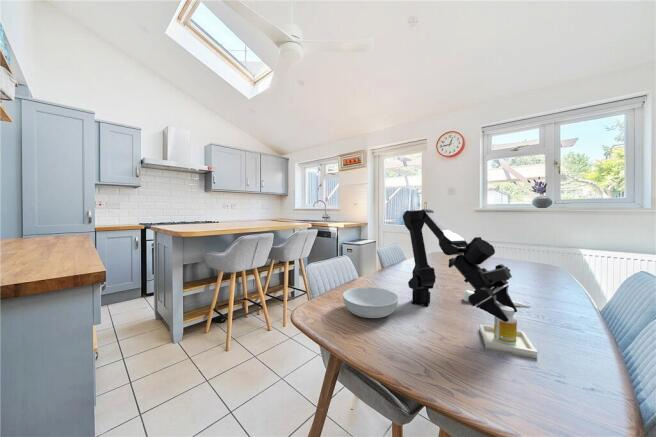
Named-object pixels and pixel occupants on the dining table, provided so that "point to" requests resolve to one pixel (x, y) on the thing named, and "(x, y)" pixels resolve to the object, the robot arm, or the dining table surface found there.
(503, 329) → the supplement bottle
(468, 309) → the dining table surface
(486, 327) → the dish
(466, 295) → the unicorn horn
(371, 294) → the serving bowl
